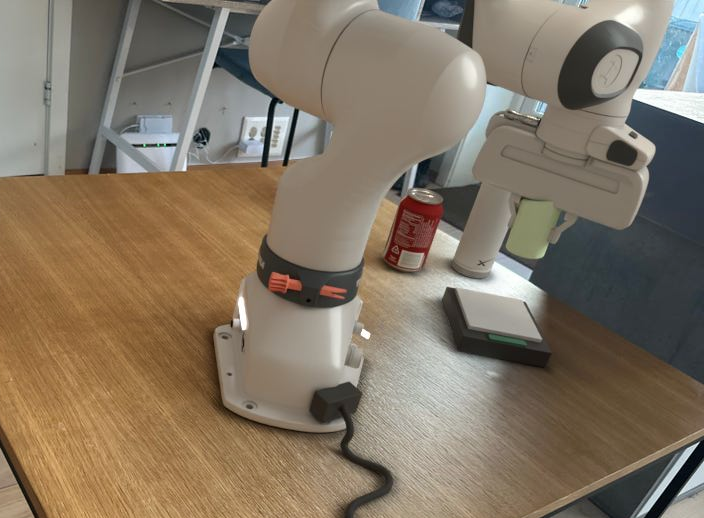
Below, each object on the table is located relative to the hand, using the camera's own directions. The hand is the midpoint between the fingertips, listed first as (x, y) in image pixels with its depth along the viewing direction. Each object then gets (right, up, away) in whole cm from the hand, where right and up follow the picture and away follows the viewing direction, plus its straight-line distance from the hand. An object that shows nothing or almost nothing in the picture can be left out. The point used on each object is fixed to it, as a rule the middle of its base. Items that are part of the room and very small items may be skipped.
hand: (531, 234), depth 92 cm
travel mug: (+1, -2, +25) cm, 25 cm away
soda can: (-12, -1, +22) cm, 25 cm away
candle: (0, -2, +2) cm, 3 cm away
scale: (-2, -12, +8) cm, 15 cm away
